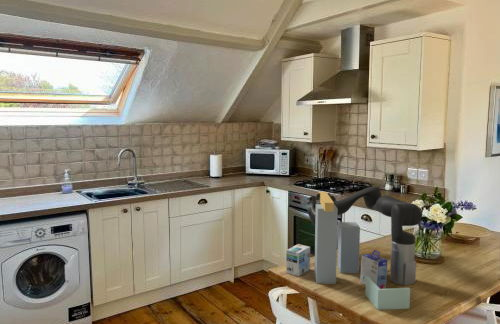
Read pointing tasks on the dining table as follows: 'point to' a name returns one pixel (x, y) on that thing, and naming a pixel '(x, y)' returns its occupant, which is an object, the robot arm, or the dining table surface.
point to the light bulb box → (298, 260)
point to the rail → (326, 202)
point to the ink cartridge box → (374, 269)
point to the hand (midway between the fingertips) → (324, 195)
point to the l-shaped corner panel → (387, 296)
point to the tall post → (325, 245)
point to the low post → (348, 247)
